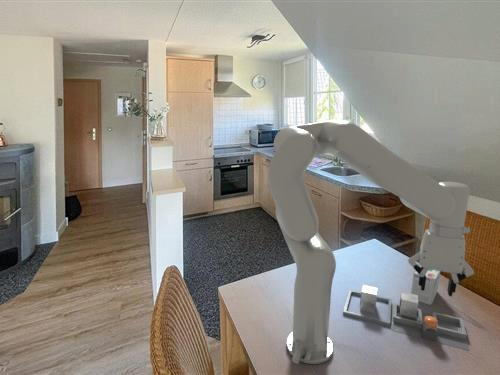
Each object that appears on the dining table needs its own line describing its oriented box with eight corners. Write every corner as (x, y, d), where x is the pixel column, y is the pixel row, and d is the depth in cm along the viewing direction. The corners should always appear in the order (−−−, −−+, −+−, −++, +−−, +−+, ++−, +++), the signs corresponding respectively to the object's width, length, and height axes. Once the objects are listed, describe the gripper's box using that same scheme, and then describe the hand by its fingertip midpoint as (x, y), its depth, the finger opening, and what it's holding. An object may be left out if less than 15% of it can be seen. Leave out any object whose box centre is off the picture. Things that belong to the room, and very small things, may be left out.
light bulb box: (416, 287, 117) (420, 260, 115) (437, 294, 113) (441, 266, 110) (409, 301, 109) (413, 272, 107) (431, 308, 105) (435, 279, 102)
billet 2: (415, 323, 96) (418, 303, 94) (398, 319, 98) (400, 299, 96) (414, 315, 100) (417, 295, 98) (398, 311, 102) (400, 291, 100)
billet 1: (374, 314, 101) (376, 295, 99) (359, 310, 103) (360, 291, 101) (375, 306, 105) (377, 287, 103) (360, 303, 107) (362, 284, 105)
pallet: (468, 353, 86) (471, 342, 85) (391, 333, 94) (393, 323, 93) (461, 324, 97) (462, 314, 96) (393, 308, 105) (394, 299, 104)
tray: (389, 329, 95) (390, 323, 95) (342, 317, 101) (343, 311, 100) (390, 304, 107) (391, 299, 107) (349, 294, 113) (349, 289, 112)
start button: (437, 329, 88) (438, 324, 88) (424, 326, 89) (425, 321, 89) (436, 322, 91) (437, 317, 91) (423, 319, 92) (424, 314, 92)
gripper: (482, 229, 83) (470, 291, 87) (408, 220, 90) (401, 277, 94) (489, 240, 76) (476, 306, 81) (409, 229, 83) (401, 290, 88)
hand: (435, 290), depth 88 cm, fingers open, 5 cm apart
